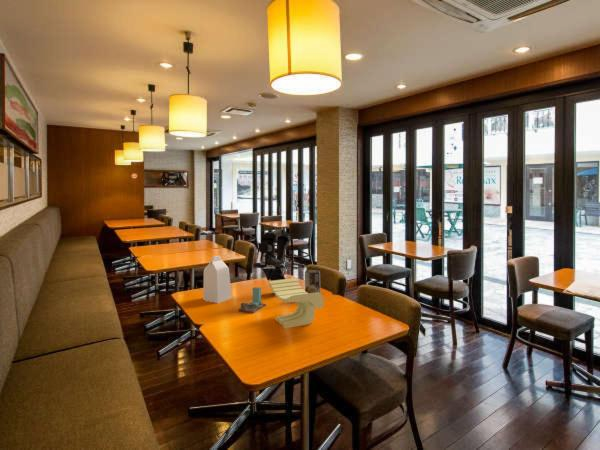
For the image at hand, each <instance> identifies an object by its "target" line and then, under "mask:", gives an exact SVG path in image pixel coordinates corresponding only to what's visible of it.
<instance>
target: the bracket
mask: <svg viewBox="0 0 600 450" xmlns="http://www.w3.org/2000/svg"><path fill="white" fill-rule="evenodd" d="M249 303H250V302H249ZM249 303H247V302H241V303H240V308H239V309H238V312H242V313H249V314H254V313H256V312H258V311H260V310H261V309H263V308H265V307H266V306H267V303H262V302H261V304H259V305H258V306H254V304H249ZM249 307H251V308H249Z"/></svg>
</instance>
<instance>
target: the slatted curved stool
mask: <svg viewBox="0 0 600 450" xmlns="http://www.w3.org/2000/svg"><path fill="white" fill-rule="evenodd" d="M268 282H269V287H270V288H271V291H273V292H272V293H275V295H274V296H275V297H276V298H278V299H279V300H280V301H281V302H282V303H285V304H286V303H296V305H297V308H296V310H295V311H291V312H290V313H286V314H282V315H278V316H275V320H276V321H277V322H278V321H279V322H278V323H279V324H280V325H281V326H282V327H284V328H285V329H289V328H294V327H300V326H306V325H310V324H312V323H313V322H314V320H315V310H316V309H320V308H321V309H322V308H324V296H323V293H321V292H320V293H319V292H315V293H307V292H306V291H305V289H303V287H302V286H301V284H300V283H299V281H298V280H297V279H295V278H285V279H283V280H274V281H270V280H268Z"/></svg>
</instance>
